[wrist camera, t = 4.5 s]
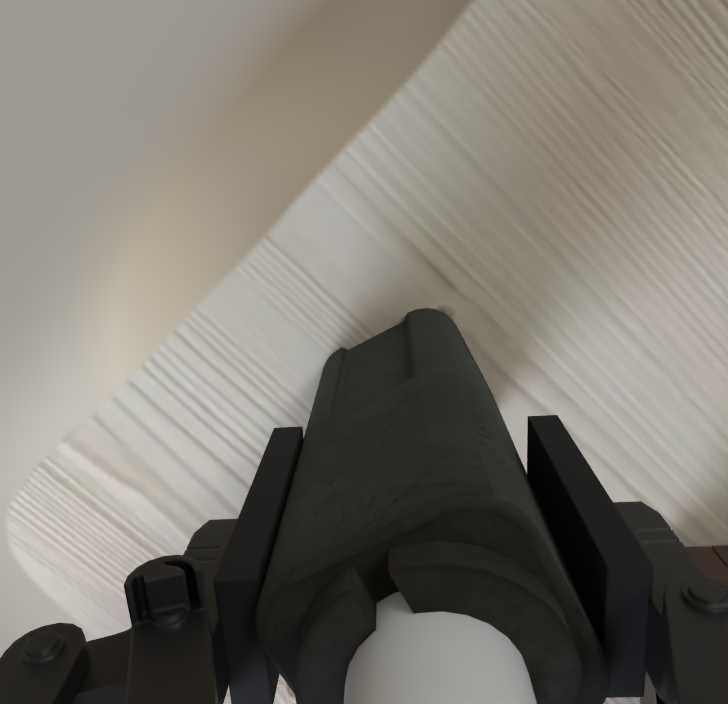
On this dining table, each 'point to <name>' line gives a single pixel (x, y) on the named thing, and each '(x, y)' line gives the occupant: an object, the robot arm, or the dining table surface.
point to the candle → (420, 544)
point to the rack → (716, 565)
